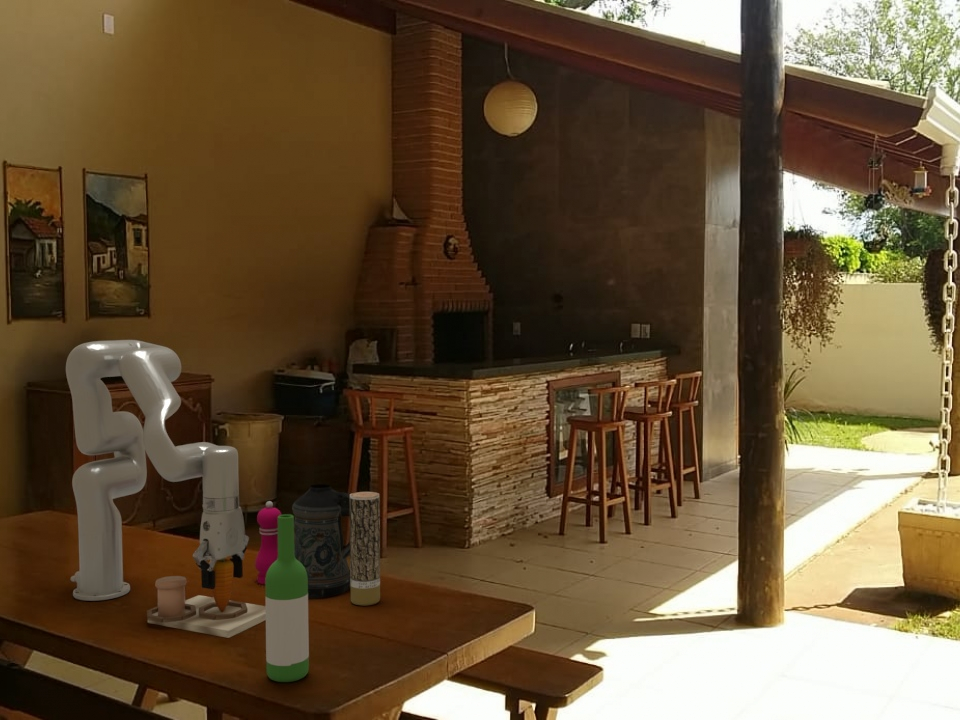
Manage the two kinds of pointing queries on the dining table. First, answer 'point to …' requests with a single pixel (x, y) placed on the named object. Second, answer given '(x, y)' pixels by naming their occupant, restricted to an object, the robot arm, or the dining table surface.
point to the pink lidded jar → (171, 596)
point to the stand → (212, 617)
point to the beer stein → (322, 540)
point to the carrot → (223, 582)
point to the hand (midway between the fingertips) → (222, 582)
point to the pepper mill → (267, 540)
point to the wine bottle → (286, 610)
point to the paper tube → (365, 548)
